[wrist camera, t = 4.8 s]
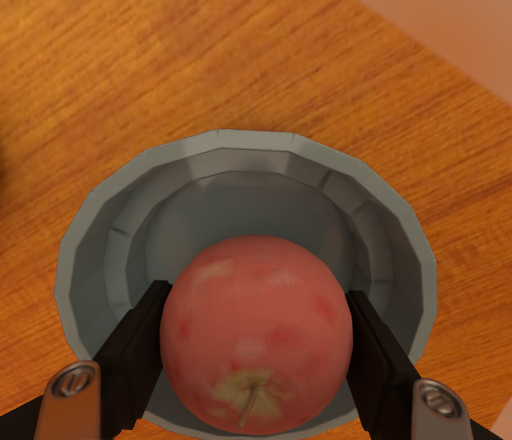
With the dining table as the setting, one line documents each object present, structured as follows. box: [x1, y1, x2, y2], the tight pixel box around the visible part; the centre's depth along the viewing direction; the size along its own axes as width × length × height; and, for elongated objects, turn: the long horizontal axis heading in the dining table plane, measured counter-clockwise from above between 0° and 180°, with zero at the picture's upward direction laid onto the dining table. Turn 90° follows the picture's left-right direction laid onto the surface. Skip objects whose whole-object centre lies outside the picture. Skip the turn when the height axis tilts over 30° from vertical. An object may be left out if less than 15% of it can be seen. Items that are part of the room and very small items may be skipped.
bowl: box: [54, 129, 438, 440], centre depth 13 cm, size 15×15×5 cm
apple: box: [159, 235, 354, 435], centre depth 11 cm, size 7×7×8 cm
